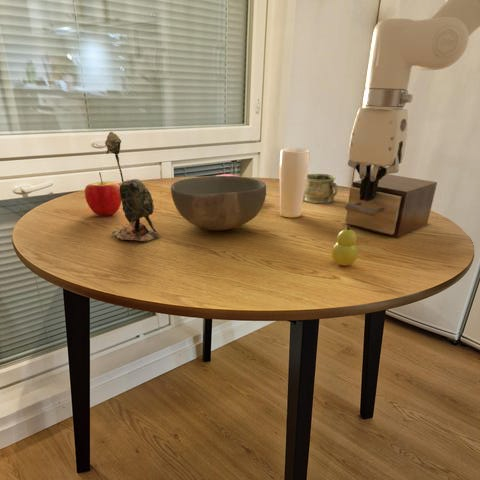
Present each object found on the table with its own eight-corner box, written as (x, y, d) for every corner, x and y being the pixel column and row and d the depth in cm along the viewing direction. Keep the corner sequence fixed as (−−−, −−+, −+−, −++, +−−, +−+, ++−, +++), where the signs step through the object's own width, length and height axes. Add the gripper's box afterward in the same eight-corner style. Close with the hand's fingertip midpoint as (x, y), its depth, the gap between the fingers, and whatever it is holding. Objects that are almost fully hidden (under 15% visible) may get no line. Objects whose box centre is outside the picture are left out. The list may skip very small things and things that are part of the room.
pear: (361, 265, 76) (367, 225, 73) (347, 271, 73) (353, 231, 70) (339, 258, 79) (344, 219, 75) (325, 264, 76) (329, 224, 73)
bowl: (262, 216, 103) (263, 173, 98) (266, 244, 85) (269, 193, 80) (179, 214, 103) (177, 171, 98) (166, 242, 85) (163, 191, 80)
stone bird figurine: (132, 249, 81) (120, 136, 71) (107, 234, 89) (93, 130, 79) (169, 241, 86) (162, 134, 76) (142, 227, 93) (133, 128, 83)
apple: (86, 220, 97) (78, 174, 93) (90, 210, 105) (83, 168, 100) (123, 218, 99) (117, 174, 94) (124, 209, 106) (119, 167, 101)
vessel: (344, 201, 117) (347, 177, 114) (326, 206, 112) (329, 182, 109) (309, 193, 124) (311, 171, 121) (290, 198, 119) (292, 175, 116)
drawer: (379, 239, 86) (387, 201, 82) (332, 227, 93) (337, 190, 89) (420, 222, 97) (428, 187, 93) (375, 212, 104) (381, 179, 100)
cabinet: (397, 237, 90) (406, 191, 85) (346, 224, 98) (352, 181, 93) (427, 224, 99) (437, 182, 94) (378, 213, 107) (385, 173, 102)
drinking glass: (308, 214, 105) (314, 149, 98) (297, 220, 100) (303, 153, 92) (283, 210, 108) (288, 147, 101) (271, 216, 103) (275, 150, 95)
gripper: (431, 102, 77) (409, 203, 86) (359, 98, 86) (346, 190, 95) (412, 102, 72) (391, 210, 81) (338, 98, 81) (326, 195, 90)
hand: (366, 199), depth 88 cm, fingers closed
